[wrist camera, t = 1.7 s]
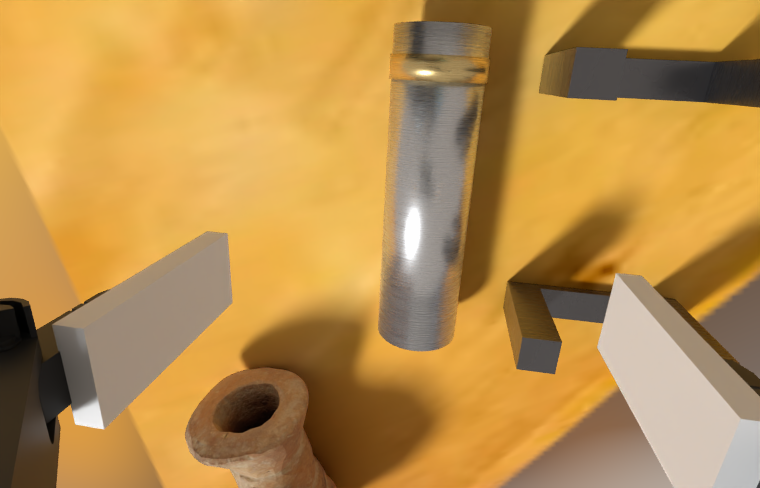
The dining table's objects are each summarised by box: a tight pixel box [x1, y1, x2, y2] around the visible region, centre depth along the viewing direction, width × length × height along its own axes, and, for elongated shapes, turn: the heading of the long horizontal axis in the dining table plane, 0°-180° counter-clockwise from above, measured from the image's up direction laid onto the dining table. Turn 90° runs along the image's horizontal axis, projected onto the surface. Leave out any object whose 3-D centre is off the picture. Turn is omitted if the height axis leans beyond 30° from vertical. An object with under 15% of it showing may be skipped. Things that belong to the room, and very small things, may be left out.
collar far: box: [503, 281, 740, 374], centre depth 26 cm, size 2×10×7 cm, turn 87°
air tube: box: [378, 21, 492, 351], centre depth 26 cm, size 18×5×5 cm, turn 177°
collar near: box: [539, 47, 760, 107], centre depth 21 cm, size 2×10×8 cm, turn 87°
